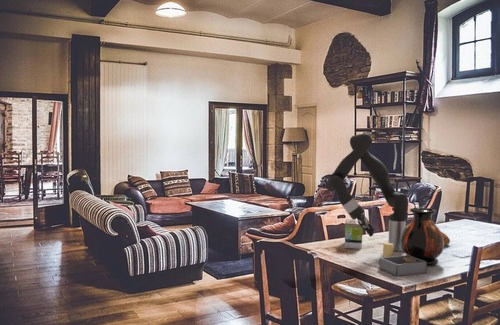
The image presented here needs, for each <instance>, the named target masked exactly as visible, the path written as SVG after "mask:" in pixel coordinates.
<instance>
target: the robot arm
mask: <svg viewBox="0 0 500 325" xmlns="http://www.w3.org/2000/svg"><path fill="white" fill-rule="evenodd" d="M372 145H373V138H372V136H371V135H370V134H368V133H359V134H355V135H352V136H351V137H350V139H349V146H350V148H352V151H351V152H350V153H348V154H347V155H346V156H345V157H344V158H343V159H342V160H341V161H340V162H339V163H338V166H336V168H335V170H334V171H333V172H332V173H331V174H330V176H329V177H327V178H328V179H327V180H326V182H325V188H326V190H327V191H329V192H331V193H332V192H336V194H337V196H336V199H337V200H338V202H339V203H340V205H341V206H342V207H343V209H344V210H345V212H346V213H347V214H348V215H349V217H350V218H351V220H358V221H357V222H358V223H359V225H360V226H361V227H362V231H364V232H366V233H367V235H368V236H369V237H373V236H374V234H375V233H374V232H375V229H374V227H373V226H372V225H371V222H370V220H369V219H368V218H367V217H366V215H365V214H364V213H365V210H364V209H363V208H362V206H361V205H360V204H359V202H358V201H357V200H356V199H355V198H354V197H353V195H352V194H351V192H349V190H348V188H347V185H346V183H345V179H346V178H347V177H348V175H349V174H350V172H351V171H352V170H353V168H354V167H355V165H356V164H357V163H358V161H359V160H361V163H363V165H364V166H365V168H366V170H367V172H369V175H370V176H371V177H372V179H373V180H374V182H375V183H376V185H377V187H378V188H379V189H380V191H381V193H382V195H383V197H384V199H385V201H386V203H387V205H388V206H389V207H391V208H393V212H392V213H391V214H389V215H388V217H389V218H388V242H387V243H392V244H393V252H404V251H403V250H402V248H401V235H402V232H403V230H404V228H405V227H406V221H407V220H406V219H407V216H408V212H409V210H408V209H409V197H408V195H406V194H405V193H402V192H398V191H396V189H395V188H394V186H393V185H392V184H391V176H390V173H389V171H388V169H387V167H386V165H385V164H384V163H383V162H382V161H381V160H380V159H378V158H377V157H376V156H374V155H373V154H371V152H370V151H369V150H370V148H371V147H372Z"/></svg>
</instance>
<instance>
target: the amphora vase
mask: <svg viewBox="0 0 500 325" xmlns="http://www.w3.org/2000/svg"><path fill="white" fill-rule="evenodd" d="M409 212H410V213H412V214H413V218H412V220H411V221H410V222H409V223H408V224H407V226H406V227H405V228H404V230H403V232H402V235H401V248H402V250H403V251H402V252H403V253H404V254H405V255H410V256H413V257H415V258H418V259H421V260H423V261H426V262H427V267H428V266H429V267H430V266H436V265H437V264H438V263H439V260H438V257H439V256H440V255H441V254H442V253H443V251H444V248H445V246H444V239H443V236H442V233H441V232H442V231H441V230H440V228H439V227H438V225H436V224H435V221H433V218H432V217H433V215H435V214H436V213H437V210H436V209H434V208H433V209H432V208H428V207H412V208H410V209H409Z"/></svg>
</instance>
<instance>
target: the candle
mask: <svg viewBox="0 0 500 325" xmlns="http://www.w3.org/2000/svg"><path fill="white" fill-rule="evenodd" d="M382 245H383V246H382V247H383V248H382V257H393V256H394V251H393V244H392V243H388V242H384V243H382Z"/></svg>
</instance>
